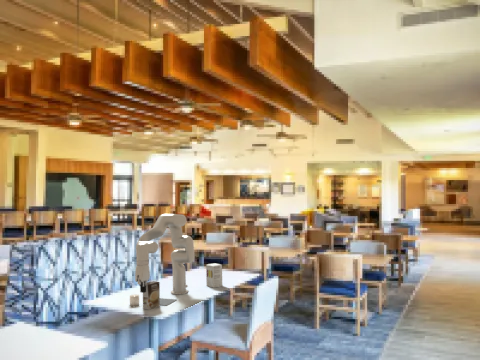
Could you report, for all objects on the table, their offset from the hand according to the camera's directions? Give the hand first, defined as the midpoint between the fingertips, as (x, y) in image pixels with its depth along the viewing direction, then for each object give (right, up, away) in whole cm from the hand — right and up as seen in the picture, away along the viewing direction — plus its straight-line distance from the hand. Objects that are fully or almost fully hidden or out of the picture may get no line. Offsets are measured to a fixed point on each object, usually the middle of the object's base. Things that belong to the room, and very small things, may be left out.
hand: (143, 292), depth 257 cm
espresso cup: (-10, -13, +17) cm, 23 cm away
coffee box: (+3, -13, +9) cm, 16 cm away
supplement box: (+41, -13, +65) cm, 78 cm away
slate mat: (+8, -13, +21) cm, 25 cm away
